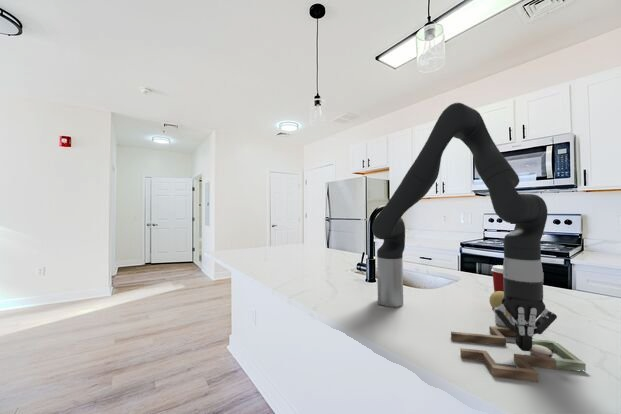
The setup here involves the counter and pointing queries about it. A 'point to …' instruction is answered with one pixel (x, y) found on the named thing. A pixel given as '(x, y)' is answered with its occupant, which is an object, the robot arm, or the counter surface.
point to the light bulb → (497, 301)
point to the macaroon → (540, 351)
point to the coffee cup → (498, 278)
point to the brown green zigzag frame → (517, 355)
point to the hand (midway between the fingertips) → (524, 349)
